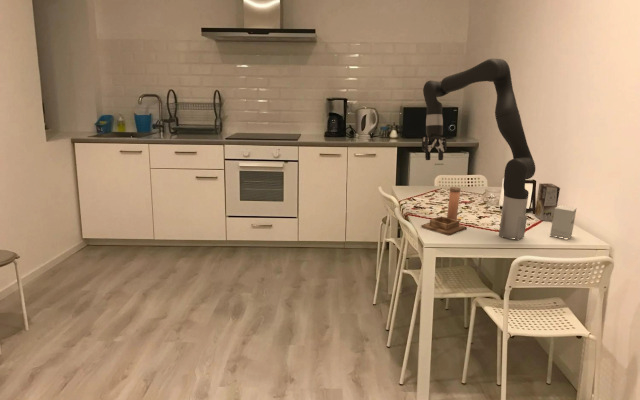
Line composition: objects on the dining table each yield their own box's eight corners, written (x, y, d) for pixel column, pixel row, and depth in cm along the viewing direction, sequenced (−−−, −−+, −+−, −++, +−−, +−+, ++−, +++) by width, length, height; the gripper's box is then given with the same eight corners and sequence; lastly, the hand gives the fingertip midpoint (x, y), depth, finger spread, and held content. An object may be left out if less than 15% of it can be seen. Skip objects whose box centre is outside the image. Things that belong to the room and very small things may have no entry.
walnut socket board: (466, 229, 225) (467, 221, 224) (449, 235, 216) (450, 227, 215) (438, 221, 235) (439, 214, 234) (421, 227, 225) (421, 219, 224)
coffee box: (555, 221, 242) (560, 187, 238) (541, 220, 243) (546, 187, 238) (547, 215, 251) (552, 183, 247) (534, 215, 251) (539, 182, 247)
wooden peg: (458, 220, 237) (462, 188, 233) (453, 222, 234) (457, 189, 230) (449, 218, 240) (453, 186, 236) (444, 220, 237) (448, 187, 233)
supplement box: (568, 240, 216) (573, 211, 213) (549, 236, 220) (554, 207, 217) (572, 236, 222) (577, 207, 218) (553, 232, 226) (558, 204, 223)
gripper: (429, 123, 232) (430, 160, 233) (451, 124, 241) (451, 160, 242) (417, 125, 238) (417, 160, 239) (438, 126, 247) (438, 160, 248)
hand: (434, 160), depth 241 cm, fingers open, 8 cm apart
